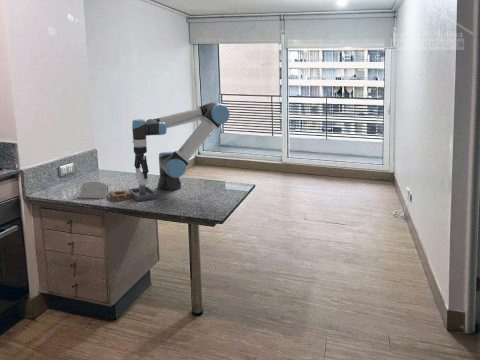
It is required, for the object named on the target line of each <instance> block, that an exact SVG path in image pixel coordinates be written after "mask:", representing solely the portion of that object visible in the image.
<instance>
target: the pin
mask: <svg viewBox="0 0 480 360" xmlns="http://www.w3.org/2000/svg"><path fill="white" fill-rule="evenodd" d="M142 172H143V170H142V171H141V172H138V179H137V180H138V188H139V195H140V196H142V195H146V187H147V184H143V174H142Z"/></svg>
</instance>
